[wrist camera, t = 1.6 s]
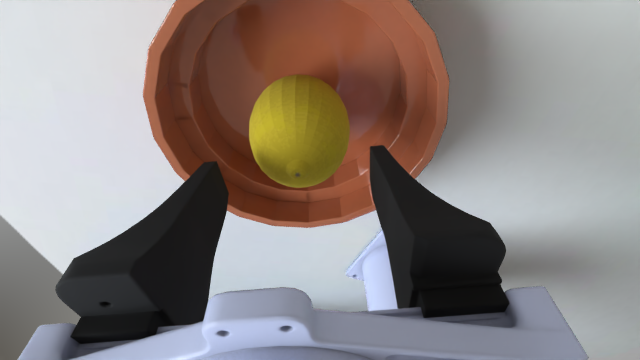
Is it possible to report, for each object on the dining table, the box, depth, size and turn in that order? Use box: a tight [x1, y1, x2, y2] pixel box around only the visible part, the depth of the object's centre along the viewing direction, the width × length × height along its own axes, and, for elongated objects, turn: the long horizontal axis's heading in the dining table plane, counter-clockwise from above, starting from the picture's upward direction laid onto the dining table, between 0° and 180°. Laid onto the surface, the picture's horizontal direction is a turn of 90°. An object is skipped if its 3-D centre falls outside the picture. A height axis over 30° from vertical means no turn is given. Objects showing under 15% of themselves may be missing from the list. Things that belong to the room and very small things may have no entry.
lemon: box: [249, 74, 350, 188], centre depth 18 cm, size 6×6×8 cm
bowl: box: [143, 0, 449, 228], centre depth 20 cm, size 16×16×4 cm
